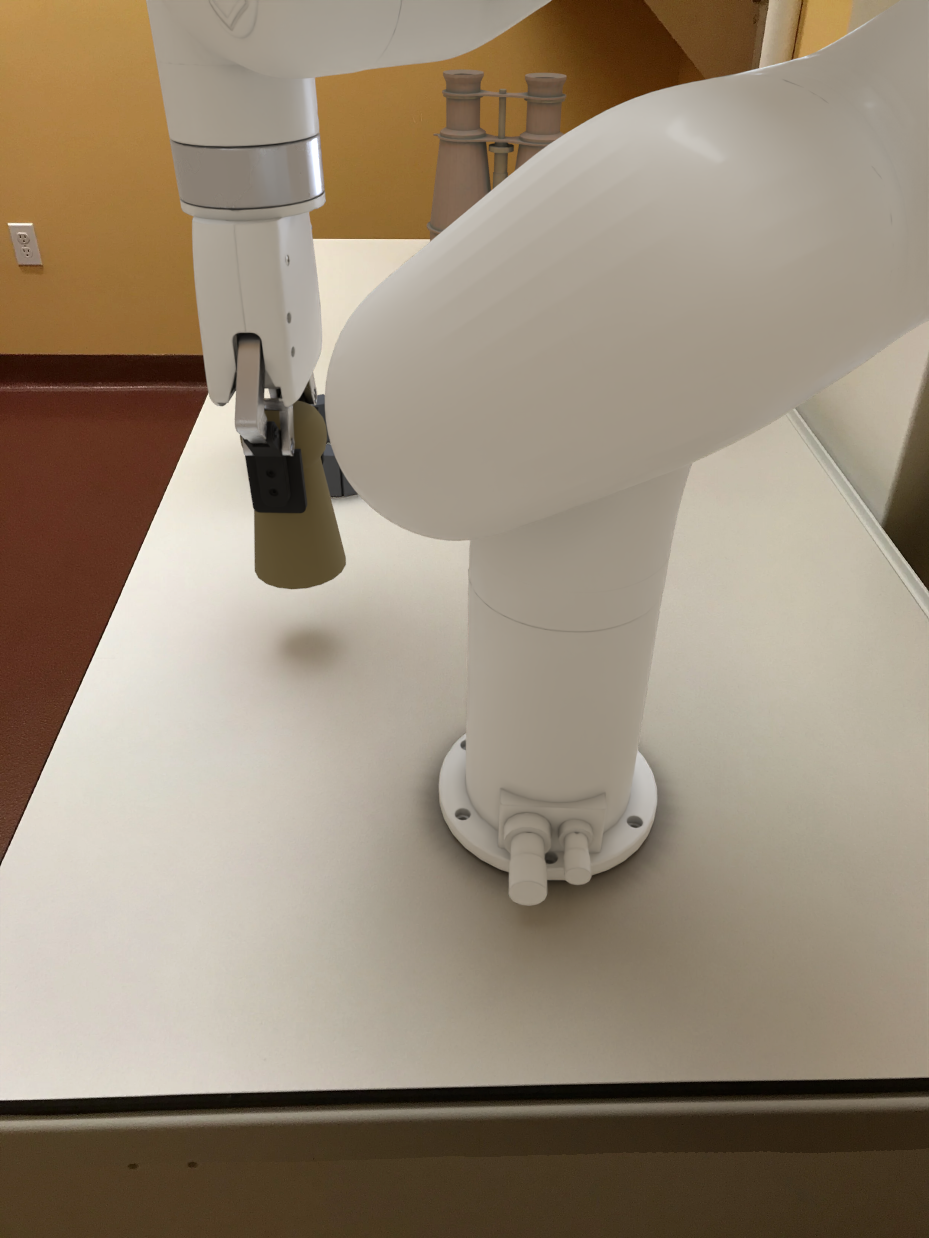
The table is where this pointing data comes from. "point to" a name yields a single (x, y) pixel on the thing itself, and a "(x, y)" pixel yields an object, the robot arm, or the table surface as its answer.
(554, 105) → the binoculars
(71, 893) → the table surface
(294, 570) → the olive pawn
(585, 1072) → the table surface
